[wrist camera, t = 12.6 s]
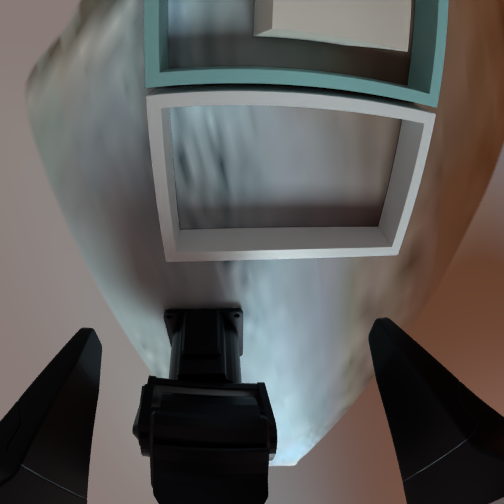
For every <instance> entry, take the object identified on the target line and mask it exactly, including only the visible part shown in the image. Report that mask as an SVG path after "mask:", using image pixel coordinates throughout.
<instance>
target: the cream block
mask: <svg viewBox="0 0 504 504" xmlns="http://www.w3.org/2000/svg"><path fill="white" fill-rule="evenodd" d="M410 16H411V0H255V6H254V32H253V36H259V37H277V38H290V39H300V40H309V41H317V42H325V43H332V44H338V45H346V46H361V47H372V48H382V49H390V50H398V51H405V52H408V42H409V31H410Z"/></svg>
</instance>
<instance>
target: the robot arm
mask: <svg viewBox="0 0 504 504" xmlns="http://www.w3.org/2000/svg"><path fill="white" fill-rule="evenodd" d="M170 315H171V316H170ZM164 321H165V325H166V328H167V332H168V336H169V340H170V343H171V347H172V349H171V359H170V371H169V379H166V378H156V376H149V378H148V383H147V384H145V385H144V386H142V391H141V399H140V405H139V409H138V412H137V415H136V418H135V421H134V425H133V434H134V435H135V437H136V438H137V439H138V440H139V445H140V447H141V453H142V455H143V456H148V457H150V468H151V485H152V487H153V494H154V496H155V498H156V500H157V502H158V503H159V504H264V503H265V502H266V500H267V498H268V466H269V461H270V460H273V459H274V457H275V454H276V449H277V428H276V422H275V418H274V415H273V411H272V408H271V404H270V401H269V397H268V393H267V390H266V386H265V383H264V382H257V384H255V383H242V381H241V368H240V356H242V354H243V311H242V310H241V309H240V308H221V309H168V310H165V311H164ZM368 339H369V345H370V350H371V356H372V361H373V366H374V372H375V377H376V381H377V384H378V388H379V392H380V395H381V399H382V402H383V406H384V409H385V413H386V417H387V420H388V424H389V428H390V432H391V435H392V439H393V443H394V447H395V451H396V455H397V460H398V463H399V468H400V473H401V477H402V481H403V486H404V492H405V496H406V501H407V504H504V417H503V416H501V415H500V414H499V413H498V412H496V411H495V410H494V409H492V408H491V407H490V406H489V405H487V404H486V403H485V402H483V401H482V400H481V399H480V398H479V397H477V396H476V395H475V394H474V393H473V392H472V391H470V390H469V389H468V388H467V387H466V386H465V385H464V384H463V383H461V382H459V380H458V379H457V378H456V377H455V376H454V375H453V374H452V373H451V372H449V371H448V370H447V369H446V368H445V367H444V366H443V365H442V364H441V363H439V362H438V361H437V360H436V359H435V358H434V357H433V356H432V355H430V354H429V353H428V352H427V351H426V350H425V349H424V348H423V347H421V346H420V345H419V344H418V343H417V342H416V341H414V340H413V339H412V338H411V337H410V336H409V335H408V334H407V333H405V332H404V331H403V330H402V329H401V328H400V327H399V326H397V325H396V324H395V323H394V322H393V321H392V320H390V319H389V318H387V317H385V318H378V319H376V320H375V322H374V324H373V326H372V329H371V331H370V333H369V338H368ZM101 356H102V345H101V343H100V341H99V339H98V336H97V334H96V332H95V330H94V329H93V328H81V329H80V330H79V331H78V332H77V333H76V334H75V335H74V336H73V337H72V338H71V339H70V340H69V342H68V343H67V344H66V345H65V346H64V347H63V348H62V349H61V350H60V352H59V353H58V354H57V355H56V356H55V357H54V358H53V360H52V361H51V362H50V363H49V364H48V365H47V366H46V368H45V369H44V370H43V371H42V372H41V373H40V375H39V376H38V377H37V378H36V379H35V380H34V381H33V383H32V384H31V385H30V386H29V387H28V389H27V390H26V391H25V392H24V393H23V395H22V396H21V397H20V399H19V400H18V401H17V402H16V403H15V404H14V406H13V407H12V408H11V409H10V410H9V412H8V413H7V414H6V415H5V416H4V418H3V419H2V420H1V421H0V504H87V491H88V490H87V489H88V476H89V464H90V454H91V444H92V436H93V428H94V420H95V414H96V407H97V401H98V394H99V382H100V368H101Z"/></svg>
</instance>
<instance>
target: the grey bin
mask: <svg viewBox="0 0 504 504" xmlns="http://www.w3.org/2000/svg"><path fill="white" fill-rule="evenodd" d="M146 102H147V116H148V129H149V140H150V150H151V160H152V169H153V178H154V186H155V194H156V201H157V209H158V216H159V223H160V229H161V236H162V242H163V248H164V254H165V260H166V262H190V261H228V260H264V259H297V258H328V257H358V256H386V255H398V252H399V249H400V246H401V244H402V241H403V238H404V235H405V232H406V229H407V225H408V222H409V219H410V216H411V213H412V209H413V206H414V203H415V199H416V196H417V192H418V189H419V185H420V181H421V177H422V174H423V170H424V166H425V162H426V158H427V153H428V149H429V145H430V140H431V135H432V131H433V126H434V121H435V116H436V114H434V113H432V112H430V111H428V110H426V109H424V108H422V107H419V106H417V105H415V104H411V103H407V102H402V101H397V100H392V99H386V98H381V97H375V96H369V95H362V94H355V93H348V92H340V91H332V90H323V89H312V88H300V87H284V86H260V85H213V86H189V87H174V88H162V89H156V90H154V91H153V92H151V93H150V94H148V95H147V96H146ZM211 105H269V106H292V107H308V108H321V109H332V110H341V111H350V112H358V113H366V114H373V115H380V116H386V117H392V118H398V119H402V123H401V129H400V134H399V140H398V145H397V150H396V155H395V159H394V164H393V168H392V173H391V177H390V182H389V186H388V190H387V194H386V198H385V202H384V206H383V210H382V214H381V218H380V221H379V225H378V227H275V228H226V229H190V230H180V227H179V218H178V208H177V198H176V188H175V177H174V165H173V152H172V138H171V122H170V108H172V107H187V106H211Z"/></svg>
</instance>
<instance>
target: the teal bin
mask: <svg viewBox="0 0 504 504" xmlns="http://www.w3.org/2000/svg"><path fill="white" fill-rule="evenodd" d="M447 19H448V0H415V14H414V30H413V42H412V52H411V62H410V70H409V78H408V85H407V86H405V85H401V84H397V83H392V82H387V81H382V80H377V79H372V78H366V77H360V76H354V75H347V74H340V73H333V72H325V71H316V70H306V69H294V68H279V67H255V66H214V67H191V68H176V69H168V0H144V62H145V85H146V88H151V87H162V86H174V85H189V84H212V83H261V84H284V85H300V86H312V87H322V88H331V89H340V90H348V91H355V92H361V93H368V94H374V95H380V96H385V97H391V98H396V99H401V100H406V101H410V102H415V103H419V104H424V105H428V106H432V107H436V108H437V105H438V99H439V93H440V86H441V79H442V72H443V64H444V55H445V46H446V34H447Z"/></svg>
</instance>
